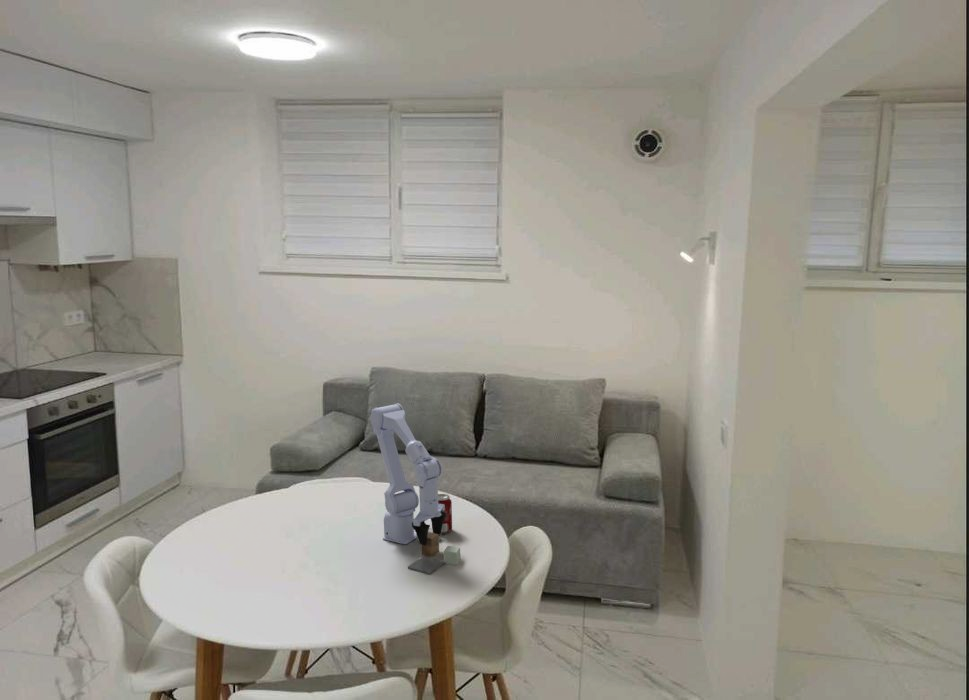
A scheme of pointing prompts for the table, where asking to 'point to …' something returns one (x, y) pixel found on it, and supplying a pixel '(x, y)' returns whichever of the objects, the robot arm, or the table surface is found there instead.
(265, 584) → the table surface
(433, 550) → the walnut block
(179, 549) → the table surface
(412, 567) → the slate coaster
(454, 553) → the sage block
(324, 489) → the table surface
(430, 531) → the grey plastic box
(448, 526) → the soda can
